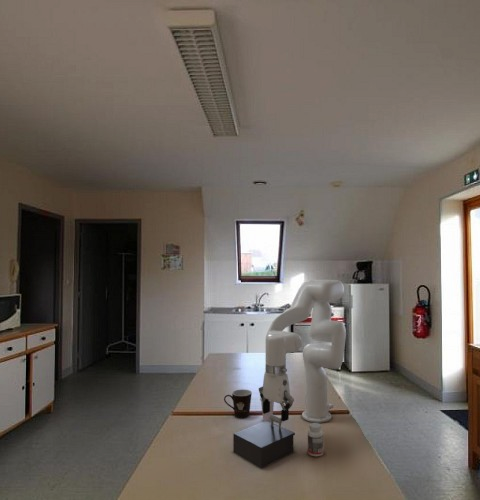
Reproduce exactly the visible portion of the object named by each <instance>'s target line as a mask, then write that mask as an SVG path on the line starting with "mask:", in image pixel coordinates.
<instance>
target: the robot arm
mask: <svg viewBox="0 0 480 500" xmlns="http://www.w3.org/2000/svg"><path fill="white" fill-rule="evenodd" d="M344 294H345V286H344V284H343V282H342V281H341V280H339V279H311V280H309V281H303V282H302V283H301V284H300V285H299V287H298V289H297V292H296V294H295V296H294V298H293V300H292V302H291V305H290V307H289V308H287V309H286V310H284V311H282V313H280V314H279V315H278V316H276V317H275V318H274V319H273V321H272V322H271V323H270V326H269V328H268V331H267V333H266V336H265V366H264V367H265V370H264V374H263V381H262V386H261V387H258V393H259V398H260V397H261V399H262V400H261V401H262V402H263V414H265V413H268V412H270V401H268V400H271V401H274V403H277V404H280V407H281V411H280V413H281V414H280V418H281V421H282V422H286V421H288V420H289V418H290V417H289V416H290V414H289V413H290V409H291V407H292V406H293V404H294V402H295V399H294V397H293V396H292V395H291V393H290V391H291V390H290V380H289V376H288V375H289V374H288V373H287V372H288V369H287V354H293V353H297V352H299V350H300V349H301V348H302V347H303V346H302V345H303V338H302V337H301V336H300V334H298V333H297V332H292V331H285V329H286V328H287V327H289V326H292V325H294V324H297V323H301V322H303V321H306V320H308V319H309V317H310V315H311V313H312V315H311V322H310V329H309V335H310V338H311V340H314V341H318V342H324V343H331V345H330V344H322V343H314V342H313V343H308V344H306V345H305V346H304V347H303V350H302V360H303V364H304V379H305V380H304V381H305V382H304V387H305V388H304V390H305V391H304V393H305V395H304V396H305V398H304V399H305V400H304V401H305V406H304V407H305V410H304V411H303V412H301V417H302V419H303V420H305V421H307V422H310V423H318V424H321V423H326V422H329V421H330V420H331V419H332V414H331V413H330V412H329V411H330V410H331V409H333V408H334V404H333V403H329V404H328V375H327V372H326V369H330V370H338V369H340V368H341V367H342V365H343V363H344V362H343V361H344V355H345V347H346V340H347V339H346V338H347V330H346V326H345V324H344V323H343V322H342V321H339V320H332V313H333V309H332V306H331V304H330V303H331V302H334V301H338V300H340V299H341V298H343V296H344ZM261 401H260V402H261ZM263 414H262V415H263Z"/></svg>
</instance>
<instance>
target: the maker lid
mask: <svg viewBox="0 0 480 500" xmlns="http://www.w3.org/2000/svg"><path fill="white" fill-rule="evenodd" d="M270 419H271V422H269V421H262V422H259V423H257V424H254V425H252V426H249V427H247V428H244V429H241V430H239V431H236V432H234V433H232V435H233V436H235V437H237V438H239V439H241V440H243V441H245V442H247V443H248V444H250V445H252V446H254V447H256V448H258V449H260V450H263V449H265V448H267V447H269V446H271V445H274V444H276V443H278V442H280V441H283V440H285V439H287V438H289V437H291V436H293V437H294V436H295V435H296V433H295V431H292V430H291V429H287V428H285V427H283V426H282V423H283V421H281V417H279V416H277V415H274V414H273V415H270ZM276 423H278V424H276Z"/></svg>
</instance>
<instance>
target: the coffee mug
mask: <svg viewBox="0 0 480 500" xmlns="http://www.w3.org/2000/svg"><path fill="white" fill-rule="evenodd" d="M252 392H253V391H251V390H249V389H245V388H244V389H242V388H241V389H236V390H232V392H231V394H226V395H225V396H224V397H223V401H224V403H225V404H226V405H227V406H228V407H230V408H231V409H233V413H234V417H235V418H236V419H240V420H241V419H247V418H249V417H250V412H251V403H252ZM227 397H229V398H231V400H232V404H233V406H232V405H231V404H229V403H228V402H227V400H226V399H227Z"/></svg>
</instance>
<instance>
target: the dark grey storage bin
mask: <svg viewBox="0 0 480 500" xmlns="http://www.w3.org/2000/svg"><path fill="white" fill-rule="evenodd" d="M232 442H233V443H232V445H233V446H232V447H233V449H232V450H233V452H232V453H233V454H234V455H235V454H236V455H237V456H239V457H241V458H242V459H244V460H246V461H248V462H249V463H251V464H253V465H254V466H256V467H258V468H259V469H263V468H265V467H267V466H269V465H271V464H273V463H275V462H277V461H279V460H281V459H283V458H285V457H287V456H289V455H291V454H293V453H294V452H295V451H294V436H291V437H289V438H287V439H285V440H283V441H280V442H278V443H276V444H274V445H271V446H269V447H267V448H265V449H263V450H260V449H258V448H256V447H254V446H252V445H250V444H248V443H247V442H245V441H243V440H241V439H239V438H237V437H235V436H233V440H232Z"/></svg>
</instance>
